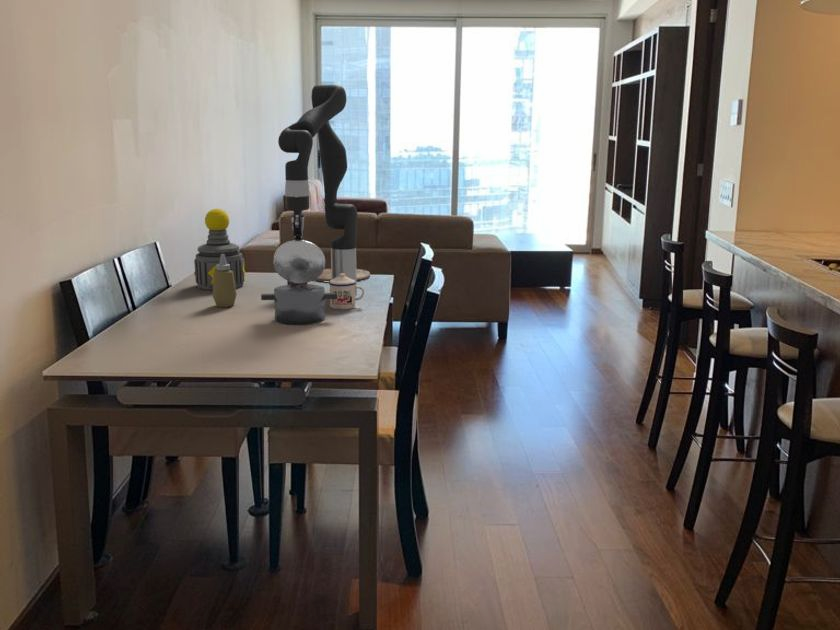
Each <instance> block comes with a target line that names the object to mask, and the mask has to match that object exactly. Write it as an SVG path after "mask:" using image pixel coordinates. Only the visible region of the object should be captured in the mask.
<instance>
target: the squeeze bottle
mask: <svg viewBox="0 0 840 630" xmlns="http://www.w3.org/2000/svg"><path fill="white" fill-rule="evenodd" d="M216 270H217V271H215V272H214V279H213V290H212V298H213V300H214V303H215V306H217V307H220V308H229V307H232V306H234V305H235V302H236V298H237V288H236V287H235V281H234V274H233V271H231V270H230V264H227V262H226V259H225V255H224V254H221V256H220V262H219V264H217V265H216Z"/></svg>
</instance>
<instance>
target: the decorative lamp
mask: <svg viewBox="0 0 840 630" xmlns="http://www.w3.org/2000/svg"><path fill="white" fill-rule="evenodd" d="M229 217H230V216H229V215H228V213H227V212H226V211H225V210H223V209H221V208H213V209H210V210H209V211H207V213H206V215H205V217H204V224H205V226H206V228H207V229H208V234H207V240H206V243H204V244H201V245H199V246H198V247H197V252H198V253H196V255H195V258H194V261H193V263H194V272H193V275H194V277H195V283H196V285H197V287H198V288H199V289H201V290H204V291H205V290H206V291H213V279H214V272H215V271H217V270H216V265H217V264H219V262H220V256H221V254H224V255H225V259H226V262H227V264H230V270H231V271H233V274H234V281H235V287H236V289H238V288H239V289H240V288H241V287H242V286H244V283H245V281H246V280H245V277H246V276H245V275H246V270H245V259H244V257H243V253H242V252H240V245H238V244H236V243H233V242H231V241H230V239H229V235H228V234H227V233H228V232H227V229H228V227H229V224H230V218H229Z"/></svg>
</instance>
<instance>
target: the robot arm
mask: <svg viewBox="0 0 840 630" xmlns="http://www.w3.org/2000/svg"><path fill="white" fill-rule="evenodd" d="M310 96H311V97H310V98H311V105H312V108H311V109H309V110H307V111H306V112H305V113H303V114H302V115H301V116H300V118H299V119H298V120H297V122H294V123H292V124H291V125H289V126H287V127H285V128H284V129H283V130H282V131H281V133H280V134H279V136H278V139H277V141H278V142H277V143H278V147H279V148H280V150H281V151H282V152H284V153H287V154H289V153H290V154H298V155H297V158H296V159H293V160H290V161H287V162H285V168H284V173H285V175H284V176H285V182H284V185H285V186H284V194H285V195H284V196H285V197H284V199H285V209H286V210H287V211H293V214H292V215H291V223H292V227H291V228H292V232H293V237H294V240H303V236H304V235H303V233H304V230H305V229H304V228H305V227H304V226H305V224H304V223H305V214H303V212H302V211H307V210H310V186H309V185H310V184H309V171H308V170H309V162H310V157H311V153H312V150H313V145H314V139H313V138H314V137H315V136H316V135H317V140H318V149H319V150H318V151H319V160H320V167H321V168H320V169H321V175H322V179H323V180H322V182H323V191H324V194H323V195H324V217H325V222H326V225H327V227H328V228H329V229H332V230H344V231H343V235H341V236H339V237H337V238H334V239H332V240H331V241H330V264H331V265H330V267H331V268H330V269H331V275H332V280H333V279H335V278H336V277H339V274H341V273H344V274H345V276H346V277H348V278H350V279H353V280H355V282H356V283H355V286H358V285H357V283H358V281H357V273H356V269H357V240H358V209H357V207H356V206H355V204H351V203H338V200H337V199H338V190H339V187H340V185H341V183H342V182H343V179H344V177H345V175H346V173H347V170H348V159H347V151H346V148H345V146H344V145H345V144H343V141H342V140H341V139H340V137H339V136H338V135H337V133H336V132H335V131H334V130H333V128H332V126H331V123H330V121H331V120H332V119H333V118H335V117H336V116H337V115H338V114H339V113H341V112H342V111H344V109H345V108H346V105H347V94H346V90H345V88H344V86H342V85H339V84H317V85H316V84H315V85H314V86H313V88H312V89H311V95H310ZM357 292H358V288H355V295H357Z"/></svg>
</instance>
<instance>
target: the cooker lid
mask: <svg viewBox="0 0 840 630" xmlns="http://www.w3.org/2000/svg"><path fill="white" fill-rule="evenodd" d="M325 256H326V255H325V254H324V252H323V250H322V249H321V248H320V247H319V246H318V245H317V244H315V243H313V242H312V241H308V240H305V239H302V240H295V239H293V240H288V241H286V242H284V243H282V244H281V245H280V246H278V247H277V249H275V252H274V255H273V261H272V262H273V266H274V270H275V271H276V273H277V274H278V275H279V276H280V277H281V278H282V279H284V280H285V281H290V282H294V283H307V284H308V283H310V282H313V281H314V280H315V279H317V278H318V277H319V276H320V275H321V274H322V273H323V271H324V269H326V268H325V267H326V257H325Z"/></svg>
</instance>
